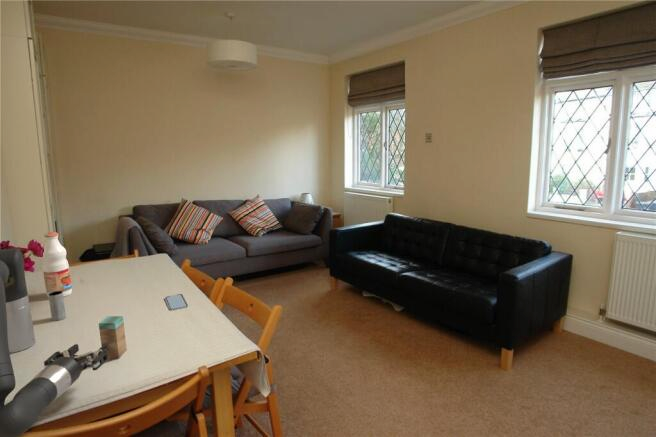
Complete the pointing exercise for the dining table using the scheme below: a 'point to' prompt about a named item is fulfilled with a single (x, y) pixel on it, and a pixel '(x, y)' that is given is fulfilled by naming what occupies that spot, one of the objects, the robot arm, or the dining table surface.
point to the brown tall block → (113, 336)
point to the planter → (57, 305)
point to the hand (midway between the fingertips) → (92, 346)
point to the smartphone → (176, 302)
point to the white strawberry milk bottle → (55, 266)
